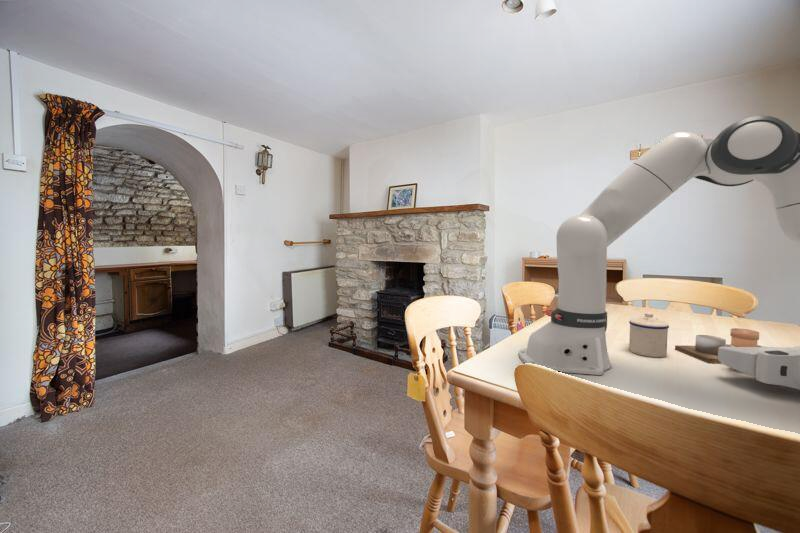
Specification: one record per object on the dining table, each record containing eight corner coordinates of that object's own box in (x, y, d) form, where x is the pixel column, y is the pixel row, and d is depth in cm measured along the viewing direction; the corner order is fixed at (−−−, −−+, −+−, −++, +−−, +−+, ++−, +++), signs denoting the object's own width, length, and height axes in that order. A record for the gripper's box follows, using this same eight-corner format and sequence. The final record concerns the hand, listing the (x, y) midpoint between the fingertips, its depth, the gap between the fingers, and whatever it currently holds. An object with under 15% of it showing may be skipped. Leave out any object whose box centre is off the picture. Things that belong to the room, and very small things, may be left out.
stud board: (708, 363, 84) (709, 343, 84) (675, 349, 95) (675, 332, 94) (764, 363, 83) (766, 344, 83) (724, 349, 94) (725, 332, 94)
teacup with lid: (676, 358, 88) (678, 316, 87) (641, 357, 88) (642, 316, 88) (646, 344, 99) (647, 308, 99) (615, 344, 100) (617, 307, 99)
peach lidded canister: (741, 374, 77) (744, 333, 76) (722, 366, 82) (725, 328, 81) (762, 374, 77) (765, 333, 76) (742, 366, 81) (745, 328, 81)
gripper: (862, 354, 65) (784, 335, 79) (757, 353, 66) (698, 334, 80) (859, 384, 66) (782, 360, 79) (755, 383, 67) (697, 359, 80)
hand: (739, 347), depth 80 cm, fingers closed on peach lidded canister, 4 cm apart
